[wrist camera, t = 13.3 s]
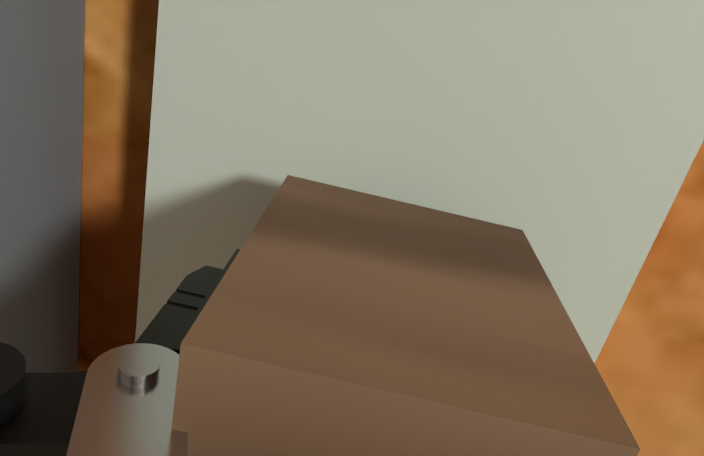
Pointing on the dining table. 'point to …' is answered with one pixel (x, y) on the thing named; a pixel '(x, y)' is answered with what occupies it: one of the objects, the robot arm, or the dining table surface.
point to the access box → (41, 179)
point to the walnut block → (388, 341)
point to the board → (428, 126)
